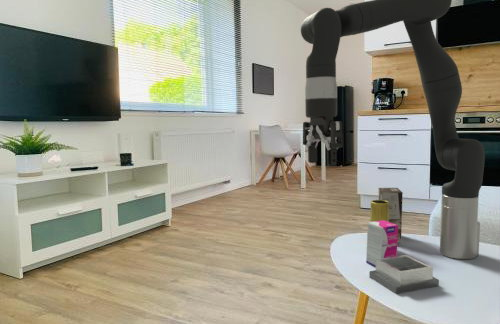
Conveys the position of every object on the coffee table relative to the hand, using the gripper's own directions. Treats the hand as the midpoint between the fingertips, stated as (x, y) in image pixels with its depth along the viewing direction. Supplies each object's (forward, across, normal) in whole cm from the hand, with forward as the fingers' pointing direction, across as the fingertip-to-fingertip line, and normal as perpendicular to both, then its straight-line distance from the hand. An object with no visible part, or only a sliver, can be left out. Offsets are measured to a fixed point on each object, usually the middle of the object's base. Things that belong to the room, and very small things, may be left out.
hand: (321, 164), depth 95 cm
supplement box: (+29, 0, -18) cm, 34 cm away
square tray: (+29, -11, -16) cm, 34 cm away
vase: (+29, +11, -27) cm, 41 cm away
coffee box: (+29, +18, -37) cm, 50 cm away
